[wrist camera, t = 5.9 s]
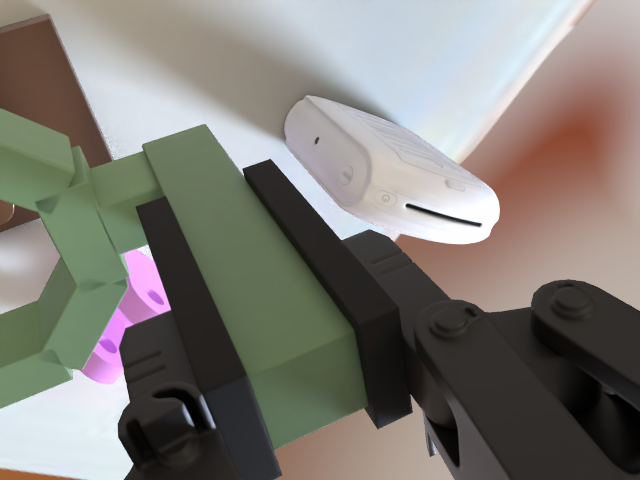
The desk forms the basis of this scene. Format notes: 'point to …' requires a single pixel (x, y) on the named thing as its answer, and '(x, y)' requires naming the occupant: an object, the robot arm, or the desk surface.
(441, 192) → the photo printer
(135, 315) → the bracket
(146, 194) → the sage ring
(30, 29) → the peg stand
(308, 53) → the desk surface
